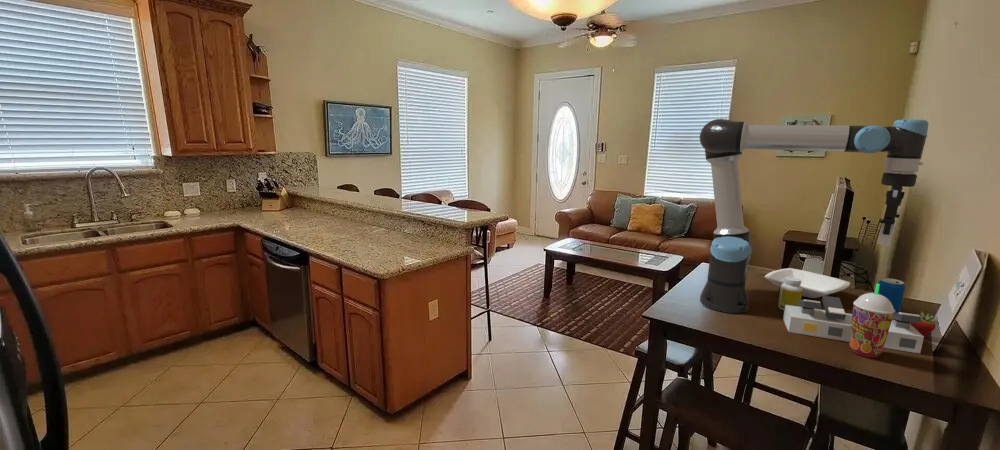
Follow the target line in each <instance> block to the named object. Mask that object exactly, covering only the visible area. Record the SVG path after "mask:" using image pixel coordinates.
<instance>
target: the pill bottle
mask: <svg viewBox="0 0 1000 450" xmlns="http://www.w3.org/2000/svg"><path fill="white" fill-rule="evenodd" d="M784 282H785V283H783V284H782V285H781V287H780V288H779V289H780V290H779V295H778V296H779V298H778V304H777V307H778V309H780V310H781V311H783V312H784V310H785V305H791V306H798V307H801V306H799V305H798V299H799V300H803V299H802V298H803V296H802V292H803V288H802V287H801V286H800V285H801V279H799V278H795V277H785V279H784Z"/></svg>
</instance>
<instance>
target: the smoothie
mask: <svg viewBox="0 0 1000 450" xmlns="http://www.w3.org/2000/svg"><path fill="white" fill-rule="evenodd" d="M879 286H880V284H878V283H876V285H875V290H874V292H867V293H863V294H861V295H859V296H858V298H856V299H855V300H854V301H853V302H852V303H853V306H852V313H851V314H852V322H851V332H850V342H848V345H849V347H850V350H851V351H852V352H853V353H854V354H855V355H858V356H861V357H864V358H869V359H877V358H878V357H879V356H880V355H882V354H883V351H884V349H885V348H884V344H885V341H886V338H887V335H888V331H889V328H890V325H891V321H892V320H893V319H892V318H893V315H894V312H895V309H894V308H893V306H892V303H891V302H890V301H889V299H888V298H886V297H885V296H883V295H881V294H878V291H879Z"/></svg>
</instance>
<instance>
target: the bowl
mask: <svg viewBox="0 0 1000 450" xmlns="http://www.w3.org/2000/svg"><path fill="white" fill-rule="evenodd" d="M785 277H795V278H799V279H801V285H800V286H801V287H802V288H803V292H802V297H804V298H805V297H806V298H810V299H817V298H820V297H823V296H829V295H832V294H835V293H838V292H841V291H844V290H845V289H847V288H848V287H850V284H851V282H850V281H847V280H844V279H841V278H837V277H832V276H829V275H825V274H820V273H816V272H812V271H807V270H802V269H797V268H792V267H787V268H780V269H777V270H773V271H770V272H768V273H767V274H765V276H764V278H765V279H766V280H768V281H769V282H771V283H772V284H773V285H775V286H778V287H780V288H781V285H782V284H783V283H785V282H784V279H785Z"/></svg>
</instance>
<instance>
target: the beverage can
mask: <svg viewBox="0 0 1000 450" xmlns="http://www.w3.org/2000/svg"><path fill="white" fill-rule="evenodd" d="M877 284H880V286H879V291H878V294H881V295H883V296H885V297H886V298H888V299H889V301H890V302H891V303H892V306H893V308H894V309H895V313H899V312H901V308H902V307H901V306H902V304H903V298H904V294H905V289H906V286H905V282H904V281H902V280H900V279H896V278H890V277H889V278H888V277H882V278H880V280H879V281H878V283H877Z"/></svg>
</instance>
